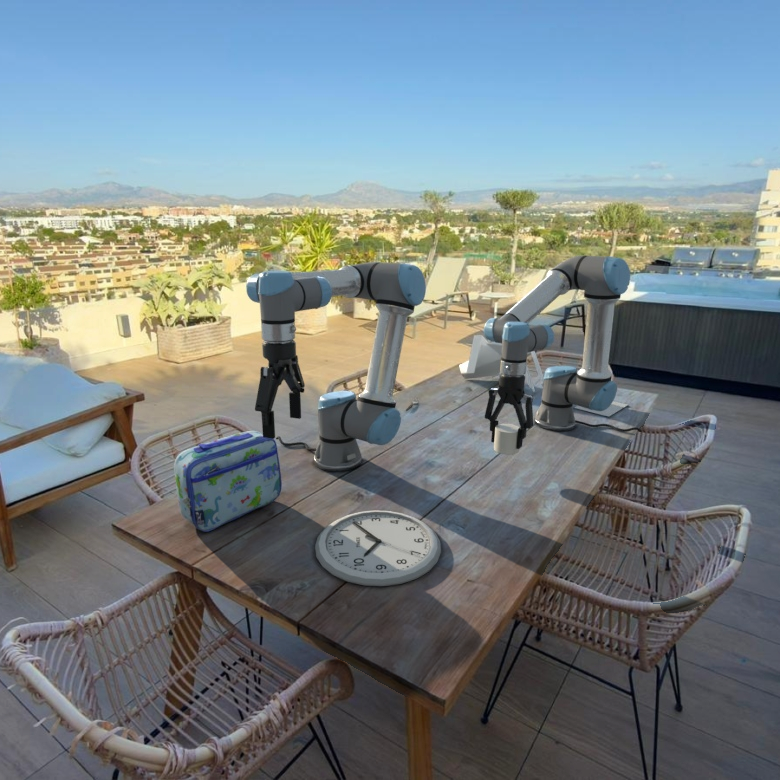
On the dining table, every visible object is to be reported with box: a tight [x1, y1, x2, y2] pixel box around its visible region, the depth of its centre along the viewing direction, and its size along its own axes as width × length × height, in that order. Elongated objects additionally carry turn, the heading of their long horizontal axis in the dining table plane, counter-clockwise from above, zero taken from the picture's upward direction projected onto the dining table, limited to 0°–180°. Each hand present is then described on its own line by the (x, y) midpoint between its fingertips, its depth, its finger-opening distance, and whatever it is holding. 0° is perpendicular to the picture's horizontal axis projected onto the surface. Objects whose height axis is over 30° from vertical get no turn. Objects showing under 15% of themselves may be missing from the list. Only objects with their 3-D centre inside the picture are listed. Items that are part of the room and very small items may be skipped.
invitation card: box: [573, 400, 629, 418], centre depth 226 cm, size 21×1×15 cm
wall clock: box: [314, 509, 442, 587], centre depth 125 cm, size 30×2×30 cm
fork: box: [405, 396, 421, 411], centre depth 222 cm, size 3×16×2 cm, turn 160°
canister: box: [493, 423, 520, 456], centre depth 163 cm, size 8×8×7 cm
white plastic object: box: [458, 334, 544, 393], centre depth 255 cm, size 37×45×31 cm
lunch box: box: [173, 430, 283, 533], centre depth 135 cm, size 26×11×21 cm, turn 134°
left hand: (283, 427), depth 126 cm, fingers open, 13 cm apart
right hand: (506, 444), depth 164 cm, fingers closed on canister, 8 cm apart
